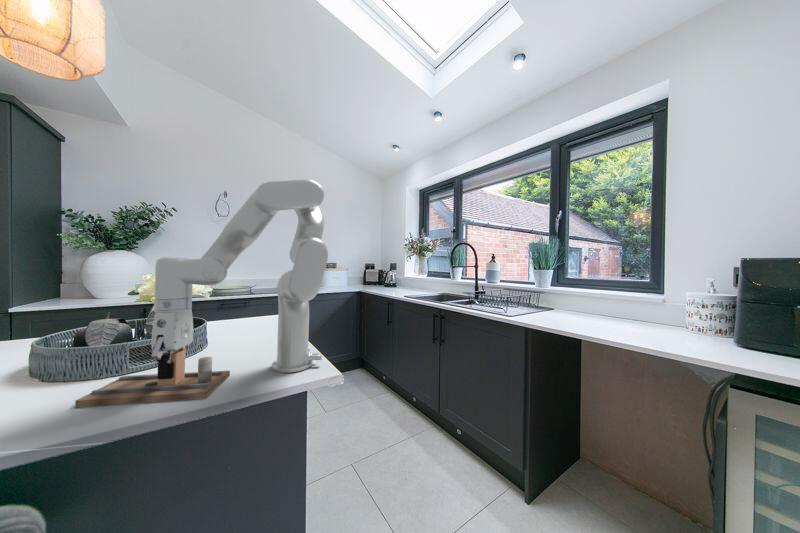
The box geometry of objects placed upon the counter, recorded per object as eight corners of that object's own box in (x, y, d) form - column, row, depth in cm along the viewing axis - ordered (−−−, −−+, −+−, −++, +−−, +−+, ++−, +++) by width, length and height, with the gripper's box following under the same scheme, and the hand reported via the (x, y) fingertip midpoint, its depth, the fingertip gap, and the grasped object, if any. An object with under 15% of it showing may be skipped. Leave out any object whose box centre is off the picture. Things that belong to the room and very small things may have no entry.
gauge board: (229, 375, 79) (230, 350, 79) (206, 398, 66) (207, 367, 66) (124, 381, 74) (125, 354, 74) (75, 407, 60) (76, 373, 60)
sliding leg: (184, 378, 72) (185, 346, 72) (175, 385, 69) (176, 351, 69) (167, 379, 72) (168, 347, 72) (157, 386, 68) (158, 352, 68)
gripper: (170, 309, 63) (168, 388, 63) (205, 300, 79) (203, 363, 79) (132, 310, 61) (129, 390, 61) (176, 300, 78) (174, 364, 77)
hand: (171, 374), depth 70 cm, fingers closed on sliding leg, 4 cm apart
